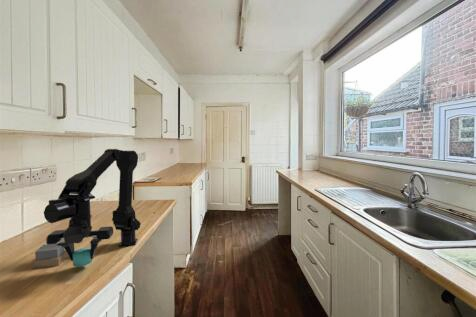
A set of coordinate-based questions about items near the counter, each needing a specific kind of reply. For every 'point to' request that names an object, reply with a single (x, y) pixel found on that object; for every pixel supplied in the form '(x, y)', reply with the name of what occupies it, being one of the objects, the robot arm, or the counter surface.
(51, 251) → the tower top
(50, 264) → the tower base
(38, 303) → the counter surface
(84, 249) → the teal round block
